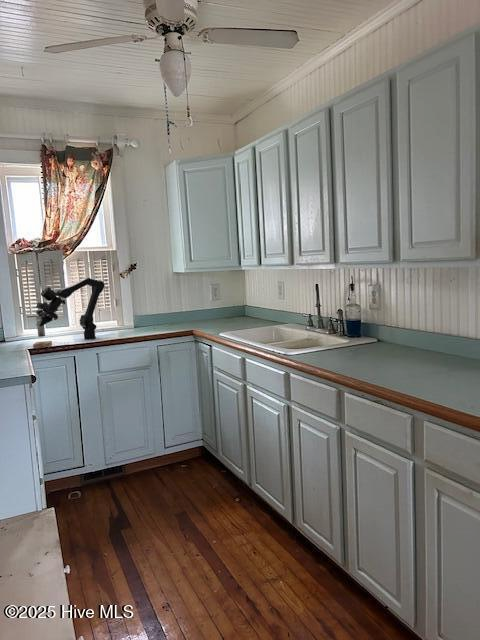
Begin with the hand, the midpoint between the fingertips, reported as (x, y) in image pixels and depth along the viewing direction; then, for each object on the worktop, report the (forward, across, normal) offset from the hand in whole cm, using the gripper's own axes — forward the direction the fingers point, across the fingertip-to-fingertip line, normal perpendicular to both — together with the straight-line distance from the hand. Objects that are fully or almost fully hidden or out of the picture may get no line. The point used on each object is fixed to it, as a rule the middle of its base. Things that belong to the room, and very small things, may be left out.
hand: (38, 325), depth 291 cm
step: (+8, 0, +10) cm, 13 cm away
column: (+4, 0, +6) cm, 7 cm away
